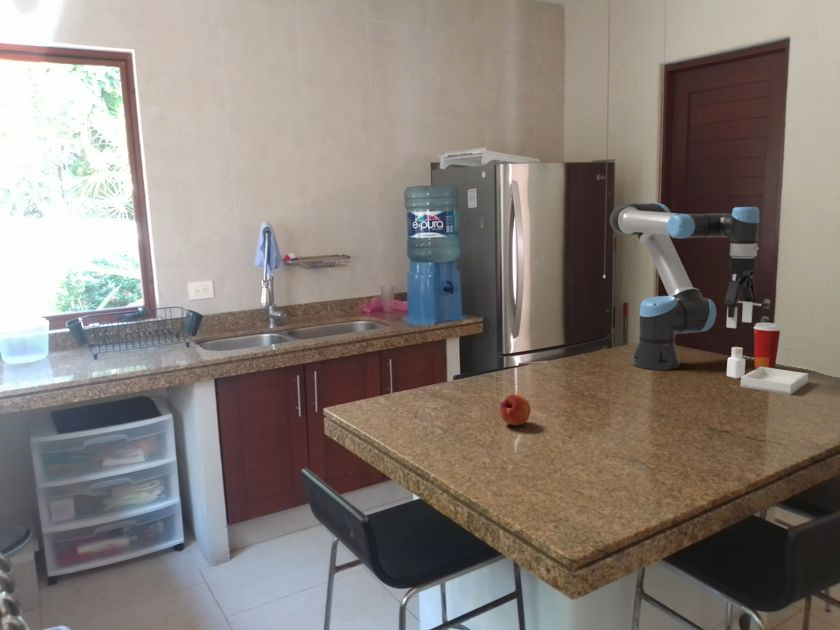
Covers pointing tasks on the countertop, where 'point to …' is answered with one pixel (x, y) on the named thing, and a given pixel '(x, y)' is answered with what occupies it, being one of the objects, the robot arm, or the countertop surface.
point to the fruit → (515, 410)
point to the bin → (774, 380)
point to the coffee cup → (766, 344)
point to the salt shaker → (736, 363)
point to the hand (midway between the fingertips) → (739, 324)
